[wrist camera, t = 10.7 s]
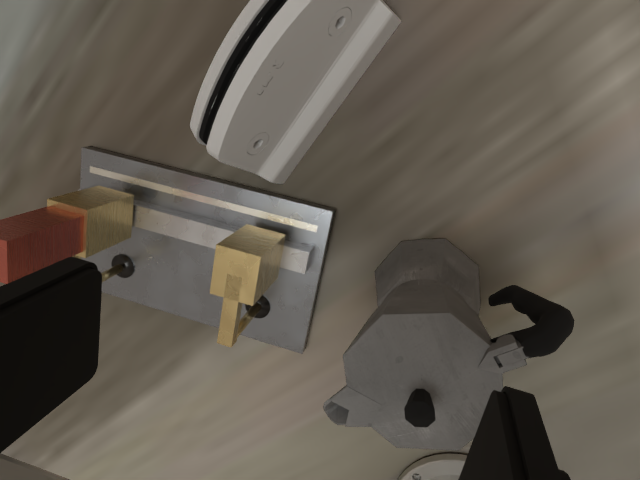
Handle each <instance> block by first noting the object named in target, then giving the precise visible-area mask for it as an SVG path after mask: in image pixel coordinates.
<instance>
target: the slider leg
mask: <svg viewBox="0 0 640 480" xmlns="http://www.w3.org/2000/svg"><path fill="white" fill-rule="evenodd" d="M133 204H134V195H132V194H129V193H125V192H121V191H117V190H114V189H110V188H106V187H103V186H95V187H91V188H87V189H84V190H80V191H76V192H72V193H68V194H64V195H61V196H57V197H53V198H49V199H47V207H44V208H41V209H37V210H34V211H30V212H27V213H23V214H20V215H16V216H12V217H9V218H5V219H2V220H0V282H2V283H5V284H8V283H10V282H12V281H15V280H17V279H19V278H22V277H24V276H26V275H29V274H31V273H33V272H36V271H38V270H40V269H42V268H45V267H47V266H49V265H52V264H54V263H56V262H59V261H61V260H63V259H65V258H68V257H75V258H79V259H81V257H83V258H87V257H89V256H92V255H94V254H96V253H98V252H100V251H103V250H105V249H107V248H109V247H111V246H113V245H116V244H118V243H120V242H122V241H124V240H127V239H129V238H131V232H132V218H133ZM122 271H123V266H122V265H121V264H117V265H115V266H113V267H112V268H110V269H108V270H106V271H104V272H102V273H101V274H102V282H104V281H106V280H108V279H109V278H111V277H113V276H115V275H117V274H118V273H120V272H122Z"/></svg>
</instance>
